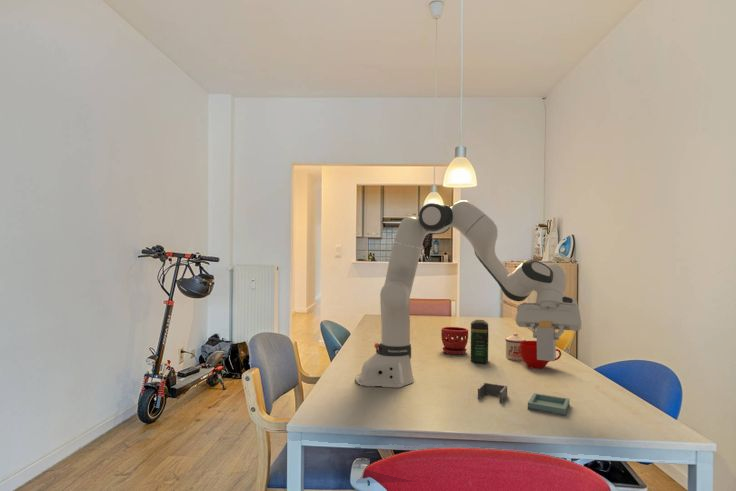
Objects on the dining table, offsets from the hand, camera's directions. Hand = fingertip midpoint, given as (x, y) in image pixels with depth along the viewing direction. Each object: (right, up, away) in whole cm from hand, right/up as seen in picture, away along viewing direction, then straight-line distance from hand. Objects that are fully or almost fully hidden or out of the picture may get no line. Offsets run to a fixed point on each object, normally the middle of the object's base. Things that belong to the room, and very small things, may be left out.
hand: (545, 337), depth 142 cm
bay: (-15, -22, +9) cm, 28 cm away
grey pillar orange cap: (0, -7, 0) cm, 7 cm away
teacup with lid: (+13, -23, +63) cm, 69 cm away
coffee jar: (-7, -23, +58) cm, 63 cm away
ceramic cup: (+17, -23, +48) cm, 56 cm away
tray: (+1, -22, 0) cm, 22 cm away
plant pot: (-15, -23, +75) cm, 80 cm away
